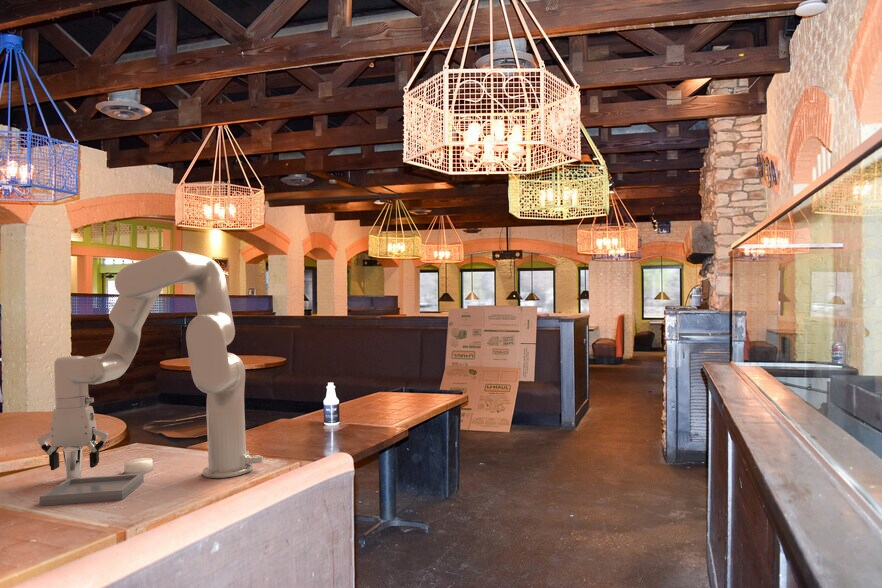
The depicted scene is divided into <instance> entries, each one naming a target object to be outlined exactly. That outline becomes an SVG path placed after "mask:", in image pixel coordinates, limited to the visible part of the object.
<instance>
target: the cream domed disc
mask: <svg viewBox="0 0 882 588" xmlns="http://www.w3.org/2000/svg"><path fill="white" fill-rule="evenodd" d="M123 466H124V467H123V469H124V475H127V474H141V473H143V474H144V475H145V474H149V473H151V472H153V470H154V459H153V458H151V457H142V458H141V457H138V458H134V459H129V460H126V461H125V462H124V464H123Z"/></svg>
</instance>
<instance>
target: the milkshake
mask: <svg viewBox="0 0 882 588" xmlns="http://www.w3.org/2000/svg"><path fill="white" fill-rule="evenodd" d="M62 448H63V449H62V452H63V453H62V455H63V460H64V468H65V476H66V480H67V479H71V478H82V466H83V465H82V463H83V451H84V450H83V448H84V446H75V447H62Z"/></svg>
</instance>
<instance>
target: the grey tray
mask: <svg viewBox="0 0 882 588" xmlns="http://www.w3.org/2000/svg"><path fill="white" fill-rule="evenodd" d="M144 475H145V474H143V473H141V474H127V475H125V474H115V475H113V474H112V475H102V476H100V475H99V476H90V477H89V476H88V477H81V478H71V479H67V478H66V480H64V481H62V482H61V483H59V484H58V485H56V486H54V487H53V488H51V489H49V490H48V491H46V492H44V493H43V494H41V495H39V506H40V507H42V506H45V507H46V506H55V505H56V506H58V505H59V506H60V505H69V504H71V505H72V504H83V503H84V504H85V503H95V502H96V503H97V502H110V501H111V502H113V501H123V500H125V498H126V497H127V496H129V495H130V494H131V493H132V492H133V491H135V490H136V489H137V488H138V487H140V486H141V485H143V483H144V482H145V476H144Z"/></svg>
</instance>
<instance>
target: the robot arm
mask: <svg viewBox="0 0 882 588" xmlns="http://www.w3.org/2000/svg"><path fill="white" fill-rule="evenodd" d="M226 279H227V278H226V275H225V272H224V271H223V269H222V268H221V266H220V264H218V263H217V262H216V261H215V260H213V259H212V258H210V257H208V256H205V255H202V254H199V253H194V252H190V251H189V252H188V251H182V250H168V251H164V252H162V253H158V254H156V255H153V256H151V257H148V258H144V259H142V260H138V261H136V262H134V263H130V264H128V265H125V266H124V267H122V268H121V269H120V270H119V271H118V272H117V274H116V276H115V279H114V287H115V290H116V291H117V292H118V294H119V296H118V297H117V299H116V301H115V303H114V305H113V307H112V309H111V310H110V312H109V314H108V318H109V321H111V323H112V325H113V327H114V331H113V332H114V333H113V336H112V340H111V342H110V343H109V345H108V347H107V348H106V351H105V353H101V354H99V353H98V354H95V355H91V356H84V355H83V356H82V355H68V356H61V357H58V358H56V359H55V360H54V364H53V365H54V367H53V369H54V371H53V372H54V392H55V393H54V395H55V396H54V397H55V401H54V402H55V409H53V411H52V415H51V420H50V431H49V432H47V433H46V434H43V435H42V436H40V437H38V438H37V443H38V444H39V446H40V448H41V449H42V451H44V452H45V453H46V455H47V456H48V465H49V467H50V471H55V470H56V469H58V468H59V467H60V453H59V452H58V450H59V449H60V448H64V447H75V446H82V447H85V446H86V447H87V448H88V449H89V450H90V451H91V452H89V454H88V456H89V467H90V468H91V469H93V468H95V467H97V466H98V465H99V462H100V451H99V450H101V449H102V448H103V446H104V445H106V442H107V440H108V438H109V436H110V434H109V433H108V432H105V431H103V430H101V429H99V428H97V421H96V417H95V410H94V408H93V406H92V405H90V404H92V403H94V402H95V398H94V397H90V394H89V385H100V384H103V383H106V382H109V381H113V380H117V379H118V378H121V376H123V375H124V374H125V373H126V371H127V370H128V368H129V367H130V365H131V364H132V361H133V360H134V358H135V356H136V353H137V352H138V350H139V346H140V341H141V336H142V328H143V326H144V324H145V322H146V321H147V318H148V316H149V314H150V312H151V311H152V309H153V306H154V305H155V303H156V301H157V300H158V298H159V296H160V294H161V292H162V289H164V288H168V287H171V286H174V285H192V286H194V288H195V293H194V300H195V301H194V302H195V308H196V312H197V315H196V316H194V317H193V318H192V320H191V321H189V323H188V325H187V329H186V332H185V341H186V348H187V355H188V361H189V366H190V372H191V377H192V380H193V383H194V385H195V387H196V388H197V389H198V390H200V391H201V392H202V393H205V394H207V395H206V429H207V431H206V432H207V436H206V437H207V459H208V461H207V462H208V466H206V467H204V468H203V469H202V475H203V476H204V477H205V478H211V479H212V478H214V479H224V478H231V477H238V476H241V475H245V474H247V473H249V472H251V471H252V470H253V464H256V465H257V464H263V462H264V456H263V455H260V454H254V455H252V454H250V451H249V450H247V444H246V419H245V418H246V417H245V414H246V413H245V386H246V385H245V384H246V368H245V365H244V362H243V361H242V359H241V357H239V356H238V355H236V354H234V353H231V352H228V350H227V349H228V348H227V347H228V345H230V344H231V343H232V342H233V341H234V338H235V335H236V329H235V323H234V317H233V313H232V306H231V305H232V304H231V302H230V296H229V290H228V284H227V280H226ZM98 437H99V441H98V442H97V439H98ZM48 439H50V444H49V443H48V442H47V440H48Z"/></svg>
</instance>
